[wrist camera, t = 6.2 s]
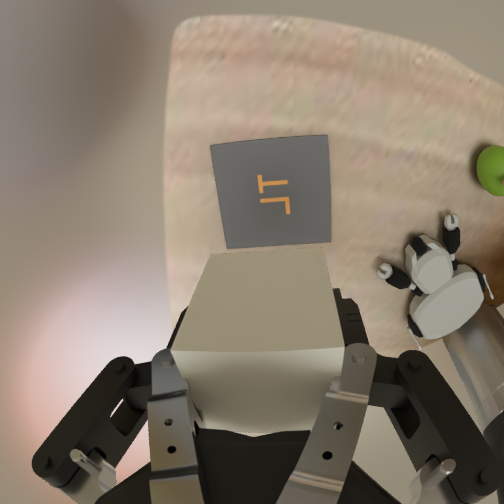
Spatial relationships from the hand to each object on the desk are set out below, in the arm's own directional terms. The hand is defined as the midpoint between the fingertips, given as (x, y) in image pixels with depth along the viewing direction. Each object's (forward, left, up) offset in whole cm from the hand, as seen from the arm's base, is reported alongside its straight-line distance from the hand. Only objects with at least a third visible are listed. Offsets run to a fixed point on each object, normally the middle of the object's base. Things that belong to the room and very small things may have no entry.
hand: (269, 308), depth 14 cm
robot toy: (-19, +11, -18) cm, 28 cm away
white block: (0, 0, -1) cm, 1 cm away
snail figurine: (-25, -3, -18) cm, 31 cm away
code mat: (0, 0, -17) cm, 17 cm away
